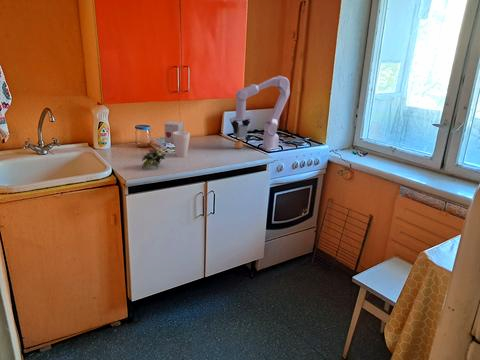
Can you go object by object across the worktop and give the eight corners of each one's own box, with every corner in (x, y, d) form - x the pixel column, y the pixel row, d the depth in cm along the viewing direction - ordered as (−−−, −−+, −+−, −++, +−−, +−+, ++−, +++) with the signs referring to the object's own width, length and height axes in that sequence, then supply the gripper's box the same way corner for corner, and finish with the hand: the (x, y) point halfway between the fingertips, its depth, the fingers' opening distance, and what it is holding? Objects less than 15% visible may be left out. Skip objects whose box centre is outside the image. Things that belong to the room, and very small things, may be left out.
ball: (244, 140, 232) (244, 148, 234) (239, 139, 236) (239, 147, 237) (238, 141, 229) (238, 149, 231) (233, 140, 233) (233, 148, 234)
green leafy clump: (153, 174, 199) (164, 154, 201) (161, 177, 190) (172, 156, 192) (135, 165, 193) (146, 144, 195) (142, 167, 184) (153, 145, 186)
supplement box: (164, 147, 228) (163, 123, 223) (170, 144, 237) (169, 120, 231) (178, 149, 227) (178, 124, 221) (184, 145, 235) (183, 121, 230)
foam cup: (169, 155, 213) (169, 133, 209) (179, 152, 221) (179, 130, 217) (183, 158, 209) (183, 135, 205) (193, 154, 217) (193, 132, 213)
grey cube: (241, 134, 235) (241, 124, 233) (247, 136, 231) (247, 126, 229) (233, 136, 232) (233, 125, 230) (239, 137, 227) (239, 127, 225)
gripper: (246, 108, 233) (245, 130, 238) (227, 110, 225) (226, 132, 230) (253, 110, 228) (252, 132, 233) (234, 112, 220) (233, 135, 224)
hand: (239, 132), depth 231 cm, fingers closed on grey cube, 6 cm apart
